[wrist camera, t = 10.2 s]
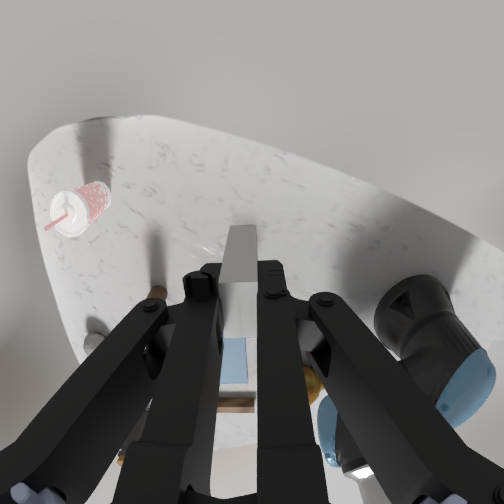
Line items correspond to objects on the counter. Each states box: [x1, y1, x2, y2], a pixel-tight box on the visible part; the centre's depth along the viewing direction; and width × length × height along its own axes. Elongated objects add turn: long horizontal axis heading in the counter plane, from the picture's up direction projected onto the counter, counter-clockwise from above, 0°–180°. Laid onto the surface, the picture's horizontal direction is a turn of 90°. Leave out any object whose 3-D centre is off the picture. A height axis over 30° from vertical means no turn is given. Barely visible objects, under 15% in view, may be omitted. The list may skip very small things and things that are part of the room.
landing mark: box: [220, 331, 248, 384], centre depth 53 cm, size 14×14×1 cm
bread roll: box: [303, 365, 324, 405], centre depth 52 cm, size 13×10×8 cm
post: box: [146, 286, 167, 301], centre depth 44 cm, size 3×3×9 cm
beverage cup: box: [44, 181, 111, 237], centre depth 35 cm, size 6×6×14 cm
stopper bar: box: [217, 398, 254, 413], centre depth 58 cm, size 16×2×2 cm, turn 92°
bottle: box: [117, 410, 148, 467], centre depth 55 cm, size 6×6×15 cm
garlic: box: [84, 333, 105, 356], centre depth 50 cm, size 6×5×5 cm
